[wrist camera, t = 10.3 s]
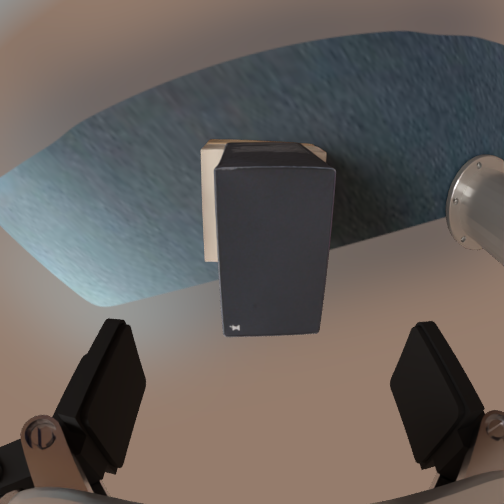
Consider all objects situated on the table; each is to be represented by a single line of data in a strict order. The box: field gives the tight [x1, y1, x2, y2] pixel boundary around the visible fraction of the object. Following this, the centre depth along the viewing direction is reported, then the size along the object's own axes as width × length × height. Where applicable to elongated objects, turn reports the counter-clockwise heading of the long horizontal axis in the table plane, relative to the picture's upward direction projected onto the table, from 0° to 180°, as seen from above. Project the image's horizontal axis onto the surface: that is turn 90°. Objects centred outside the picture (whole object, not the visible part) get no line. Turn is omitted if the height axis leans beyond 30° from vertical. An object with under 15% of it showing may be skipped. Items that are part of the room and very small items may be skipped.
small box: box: [214, 142, 336, 337], centre depth 22 cm, size 11×6×10 cm, turn 0°
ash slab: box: [201, 144, 326, 262], centre depth 28 cm, size 10×10×4 cm
